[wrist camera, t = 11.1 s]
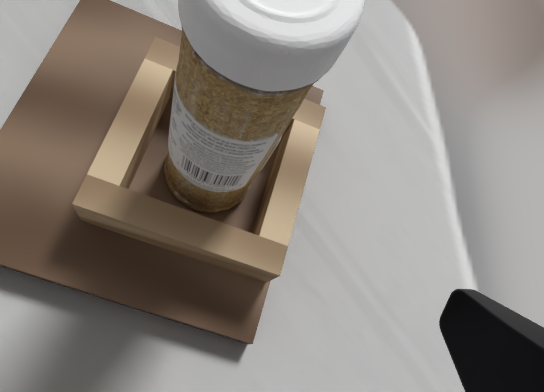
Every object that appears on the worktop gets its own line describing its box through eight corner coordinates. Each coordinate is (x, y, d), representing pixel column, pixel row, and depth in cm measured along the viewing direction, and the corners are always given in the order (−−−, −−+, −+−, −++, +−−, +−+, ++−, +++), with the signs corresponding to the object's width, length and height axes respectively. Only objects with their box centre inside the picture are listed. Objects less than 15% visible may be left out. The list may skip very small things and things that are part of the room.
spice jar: (265, 165, 23) (399, -32, 11) (219, 232, 22) (318, 85, 9) (195, 117, 23) (252, -139, 11) (142, 181, 21) (140, -40, 9)
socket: (247, 344, 21) (266, 343, 18) (-59, 247, 19) (-100, 227, 16) (317, 99, 27) (340, 66, 24) (88, 3, 25) (80, -47, 22)
